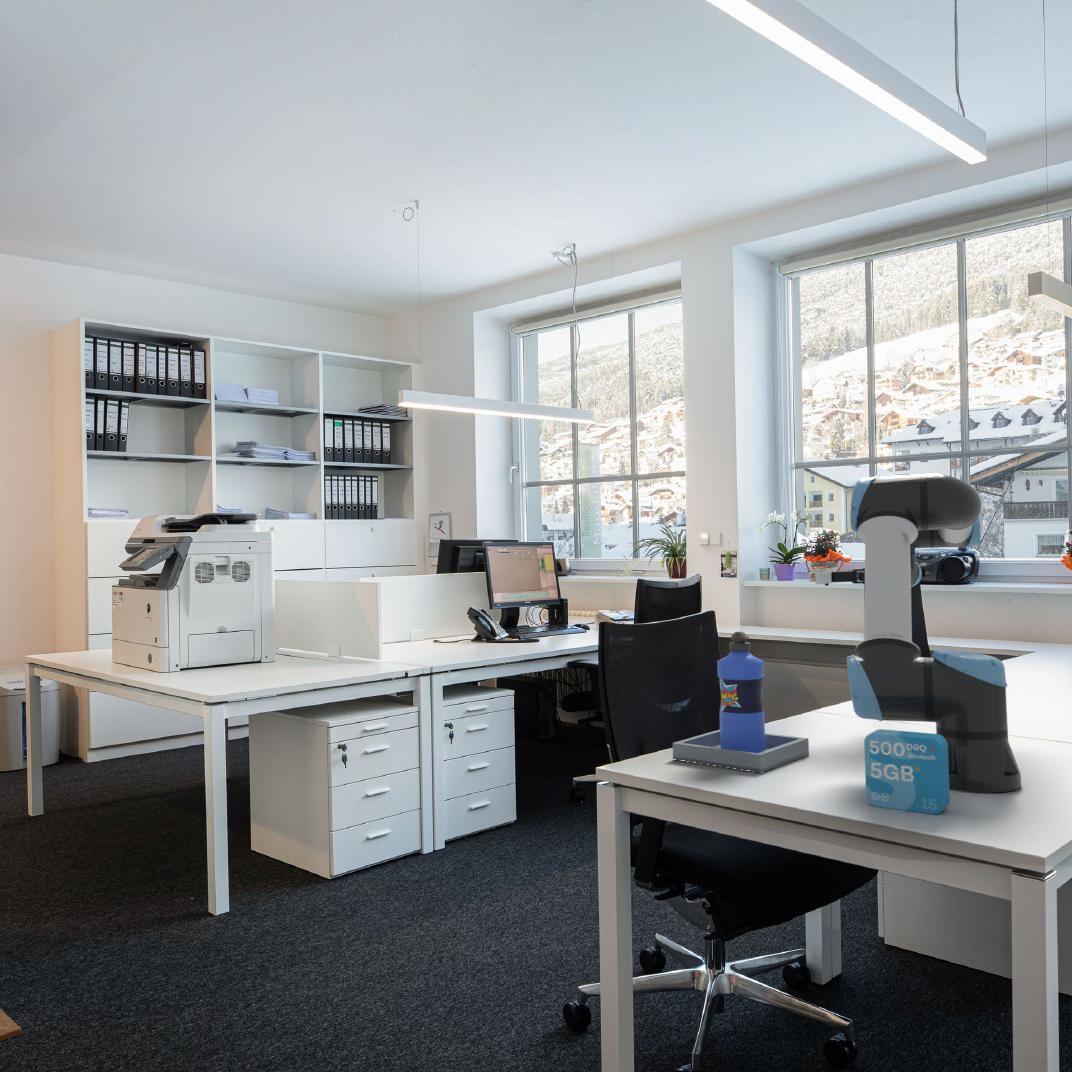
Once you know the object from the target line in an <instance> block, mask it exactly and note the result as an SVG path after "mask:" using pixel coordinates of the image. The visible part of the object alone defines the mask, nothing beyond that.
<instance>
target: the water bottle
mask: <svg viewBox="0 0 1072 1072" xmlns="http://www.w3.org/2000/svg"><path fill="white" fill-rule="evenodd" d="M729 638H730V640H731V641H732V642H729V645H728V646H729V651H730V652H729V653H728V654H727V655H726V656H724V657H723V658H720V659H719V660H717V661H716V663H717V667H716V668H717V678H718V683H719V690H720V706H719V730H720V746H721V748H723V749H730V750H738V751H745V752H752V753H760V752H763V751H765V733H766V729H765V727H766V725H765V723H766V722H765V709H764V705H763V699H762V695H763V683H764V677H765V674H764V673H765V671H764V669H765V667H764V660H762V659H760V658H758V657H757V656H755V655H752V653H751V652H750V650H751V642H747V641H748V640H749V638H750V637H749V636H748V635H747V634H746V633H745V632H744V631H734V633H733V634H732V635H731V636H730V637H729Z"/></svg>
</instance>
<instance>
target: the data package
mask: <svg viewBox="0 0 1072 1072" xmlns="http://www.w3.org/2000/svg"><path fill="white" fill-rule="evenodd" d="M863 744H864V769H865V771H864V772H865V773H864V774H865V796H866V800H867V802H868V803H869V804H870V805H871V806H873V807H877V808H882V807H883V809H889V808H891V810H898V811H905V812H912V813H921V814H928V815H938V814H941V812H943V811H944V810H945V809H946V808H947V806H949V805H950V800H951V799H950V796H951V795H950V789H949V768H948V744H947V741H946V739H945V738H944V737H943V736H941V735H939V734H936V733H930V732H918V731H908V730H907V731H905V730H897V729H896V730H894V729H883V728H879V729H876V730H874V731H872V732H870V733H869V734H867V735H866V736H865V738H864V741H863Z"/></svg>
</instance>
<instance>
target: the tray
mask: <svg viewBox="0 0 1072 1072" xmlns="http://www.w3.org/2000/svg"><path fill="white" fill-rule="evenodd" d="M809 741H810V740H809V738H808V737H799V736H792V735H783V734H775V733H774V734H773V733H767V732H765V751H763V752H760V753H752V752H745V751H738V750H730V749H723V748H721V746H720V729H718V730H713V731H710V732H706V733H703V734H700V735H696V736H692V737H688V738H686V739H682V740H679V741H674V742H672V760H673V759H676V760H685V761H689V762H696V763H702V764H709V765H716V766H721V767H729V768H736V769H743V770H750V771H754V772H760V773H759V774H762V773H761V772H764V773H765V771H766V772H768V771H767V770H769V771H771V770H770V769H772V770H774V769H777V768H779V766H780V767H782V766H785V765H787V764H789V763H792V762H795V761H797V760H800V759H803V758H806V757H808V756H810V749H809V748H810V746H809ZM784 764H785V765H784ZM781 765H782V766H781ZM721 767H720V768H721ZM776 767H777V768H776ZM773 768H774V769H773ZM754 772H753V773H754Z"/></svg>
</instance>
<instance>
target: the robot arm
mask: <svg viewBox="0 0 1072 1072" xmlns="http://www.w3.org/2000/svg"><path fill="white" fill-rule="evenodd" d="M850 500H851V501H850V512H849V515H850V516H849V521H850V529H851V530H852V532H853V533H856V534H857V537H858V540H860V541H861V542H862V543H863V544H864V545H865V546H864V567H861V568H854V569H853V568H852V569H851V570H849V569H848V570H844V571H843V570H841V571H840V570H836V571H827V570H826V571H816V572H815V584H816V585H824V586H825V587H827V586H829V585H830V584H832V583H850V582H851V584H853V585H859V584H862V585H864V597H863V598H864V603H863V605H864V607H863V608H864V609H863V640H862V641H860V642H858V644H857V645H856V646H855V650H854V651H855V652H854V653H855V654H851V655H849V656H847V657H846V669H847V675H848V683H849V690H850V697H851V702H852V707H853V708H852V709H853V711H854V713H855V715H856V716H858V717H859V718H862V719H863V720H864V719H865V720H875V721H879V722H882V721H898V722H899V721H900V722H922V723H923V722H924V723H925V722H926V723H935V727H936V728H935V731H936V733H935V734H939V735H941V736H943V737H944V738H945V739H946V741H947V744H948V768H949V790H954V791H962V792H971V793H1004V792H1005V793H1006V792H1007V793H1008V792H1013V791H1015V790H1016V791H1017V790H1019V789H1020V788H1021V787H1022V775H1021V771H1020V767H1019V766H1018V763H1017V761H1016V758H1015V756H1014V753H1013V750H1012V748H1011V745H1010V742H1009V725H1008V711H1007V709H1008V708H1007V707H1008V706H1007V705H1008V704H1007V692H1006V691H1007V690H1006V689H1007V688H1008V683H1007V680H1006V679H1007V678H1006V669H1005V665H1004V663H1003V662H1002V660H1001V659H999V658H998V657H995V656H992V655H989V654H984V653H980V652H973V651H965V650H958V649H957V650H956V649H944V648H938V649H934V650H933V653H932V654H931V655H932V657H927V656H926V657H923V656H922V653H921V649H920V647H919V646H918V645H917V644H916V643H914V641H913V636H912V635H913V629H912V628H913V627H912V624H913V623H912V588H913V587H915V586H916V585H917V584H919V583H920V581H921V579H922V576H923V572H922V571H923V570H922V568H921V565H920V564H919V563H918V562H917V561H916V557H917V555H916V554H917V553H916V549H934V548H935V549H936V548H942V549H943V548H964V549H965V548H971V547H972V548H973V547H978V546H979V545H980V544H981V541H982V539H981V537H982V536H981V534H982V533H981V520H980V518H979V517H980V514H981V510H982V500H981V498H980V495H979V494H978V491H977V490H975V489H974V487H973V486H971V484H968V483H967V482H965V480H961V479H959V478H957V477H954V476H951V475H947V474H942V473H935V472H934V473H933V472H930V473H920V474H919V473H915V474H904V475H903V474H902V475H901V474H900V475H898V474H897V475H887V476H885V475H884V476H881V475H875V476H870V477H869V476H868V477H862V478H860V479H858V480H857V481H856V482H855V484H854V486H853V490H852V494H851V499H850Z"/></svg>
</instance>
